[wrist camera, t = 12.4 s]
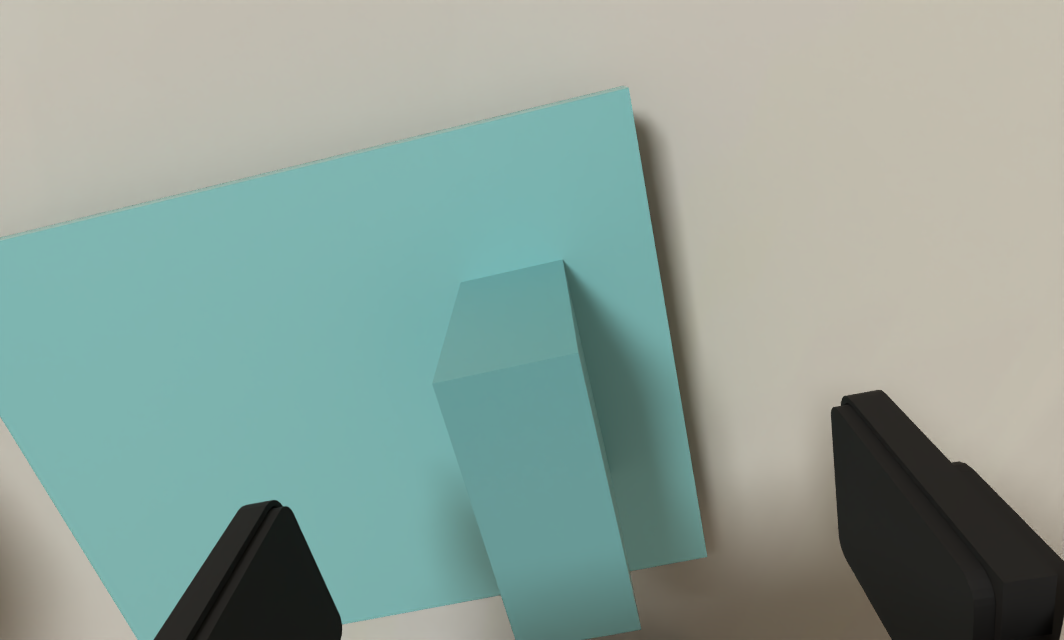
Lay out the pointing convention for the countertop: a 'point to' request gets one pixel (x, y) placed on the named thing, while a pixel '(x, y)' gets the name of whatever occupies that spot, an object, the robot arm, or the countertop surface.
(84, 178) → the countertop surface
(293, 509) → the lid
